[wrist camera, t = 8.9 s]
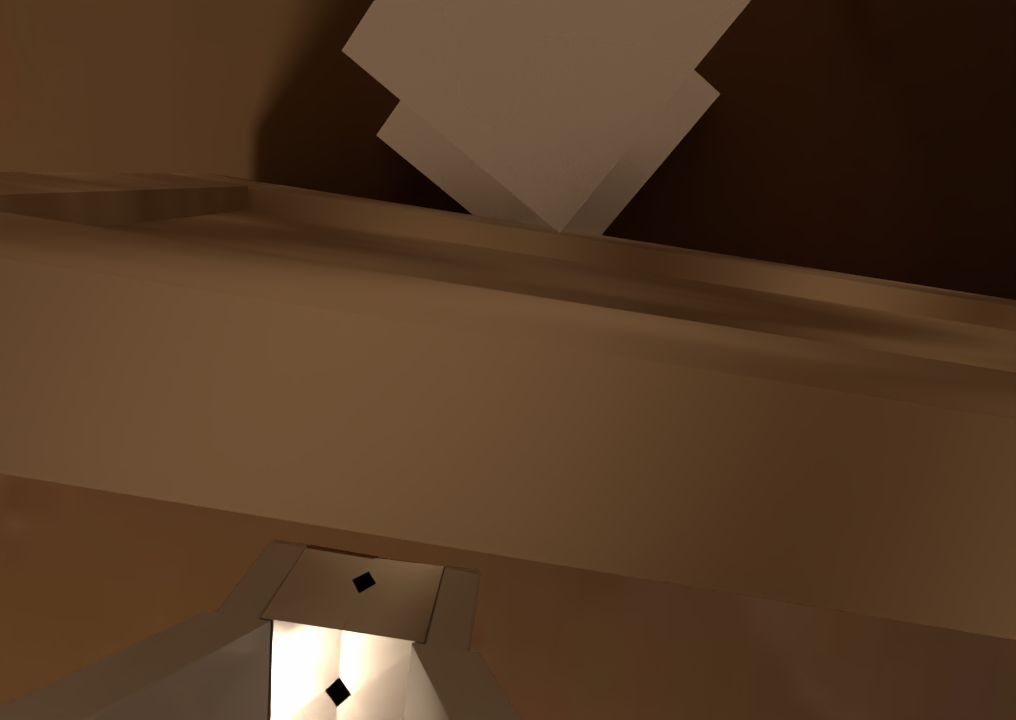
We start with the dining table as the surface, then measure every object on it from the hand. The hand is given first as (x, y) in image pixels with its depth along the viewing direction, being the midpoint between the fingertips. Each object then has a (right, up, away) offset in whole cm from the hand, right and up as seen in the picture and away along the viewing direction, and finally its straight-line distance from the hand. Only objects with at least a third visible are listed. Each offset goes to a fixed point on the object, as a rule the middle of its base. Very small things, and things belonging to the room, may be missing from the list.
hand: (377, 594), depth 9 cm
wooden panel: (+5, +5, +5) cm, 9 cm away
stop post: (+3, +9, +5) cm, 10 cm away
